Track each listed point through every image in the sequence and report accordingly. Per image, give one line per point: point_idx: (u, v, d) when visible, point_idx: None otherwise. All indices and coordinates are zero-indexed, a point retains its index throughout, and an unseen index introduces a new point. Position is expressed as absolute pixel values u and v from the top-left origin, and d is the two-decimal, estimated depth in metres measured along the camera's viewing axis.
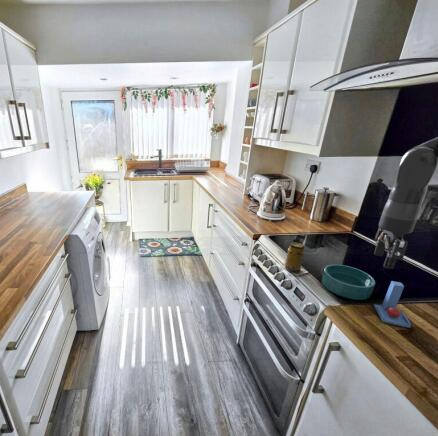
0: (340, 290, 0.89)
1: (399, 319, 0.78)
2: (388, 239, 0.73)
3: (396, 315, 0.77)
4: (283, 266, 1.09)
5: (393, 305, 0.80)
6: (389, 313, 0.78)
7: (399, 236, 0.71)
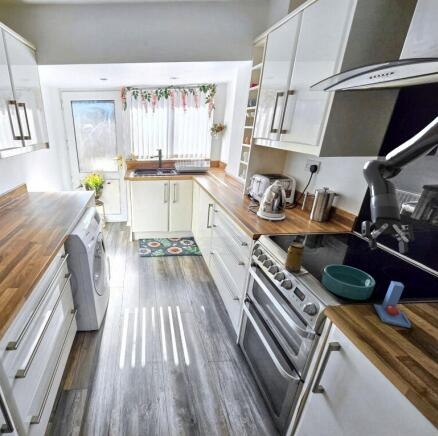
0: (340, 290, 0.89)
1: (399, 319, 0.78)
2: None
3: (395, 310, 0.78)
4: (283, 266, 1.09)
5: (393, 305, 0.80)
6: (388, 310, 0.79)
7: (374, 221, 0.88)
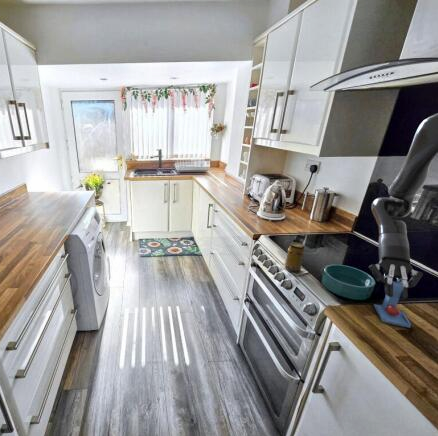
0: (340, 290, 0.89)
1: (399, 319, 0.78)
2: None
3: (395, 310, 0.78)
4: (283, 266, 1.09)
5: (393, 305, 0.80)
6: (388, 310, 0.79)
7: (380, 261, 0.84)
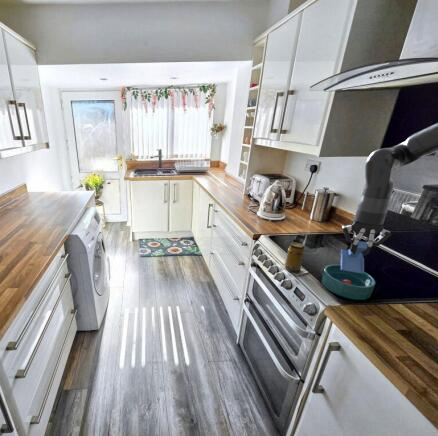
0: (340, 290, 0.89)
1: (356, 265, 0.91)
2: None
3: None
4: (283, 266, 1.09)
5: (356, 254, 0.90)
6: None
7: (353, 222, 0.84)
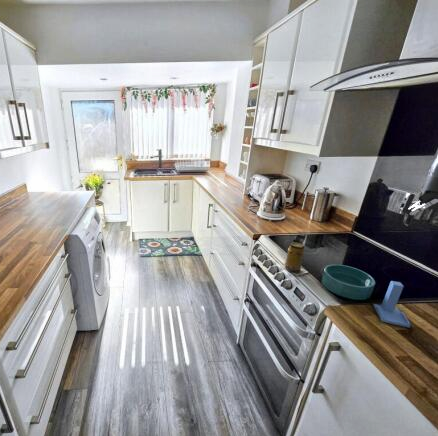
0: (340, 290, 0.89)
1: (398, 318, 0.78)
2: None
3: None
4: (283, 266, 1.09)
5: (392, 305, 0.80)
6: None
7: (422, 192, 0.71)
